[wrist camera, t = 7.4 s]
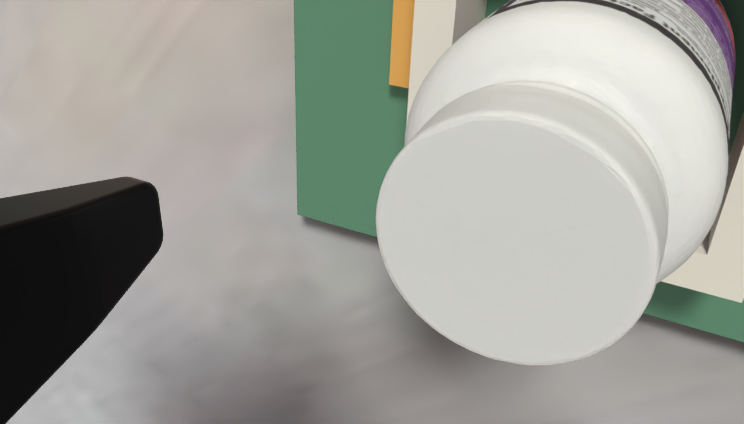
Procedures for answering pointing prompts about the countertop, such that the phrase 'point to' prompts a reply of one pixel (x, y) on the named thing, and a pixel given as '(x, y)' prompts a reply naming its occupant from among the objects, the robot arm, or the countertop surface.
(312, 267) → the countertop surface
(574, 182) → the pill bottle
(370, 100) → the board
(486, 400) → the countertop surface
